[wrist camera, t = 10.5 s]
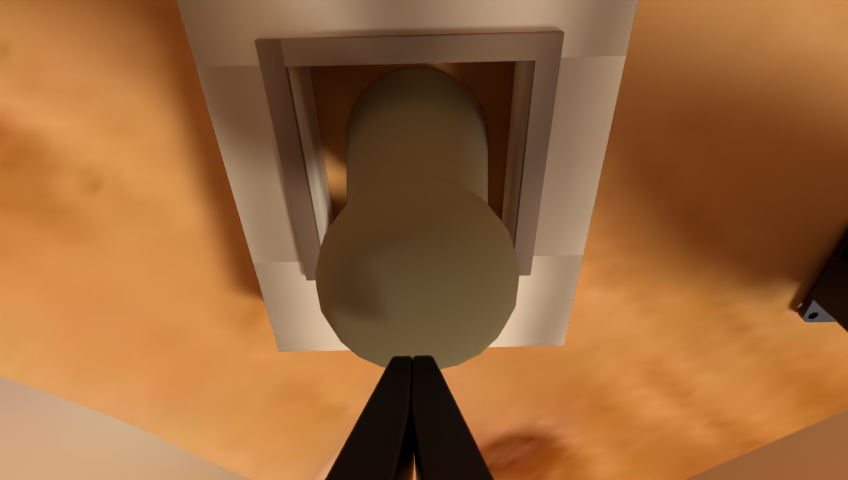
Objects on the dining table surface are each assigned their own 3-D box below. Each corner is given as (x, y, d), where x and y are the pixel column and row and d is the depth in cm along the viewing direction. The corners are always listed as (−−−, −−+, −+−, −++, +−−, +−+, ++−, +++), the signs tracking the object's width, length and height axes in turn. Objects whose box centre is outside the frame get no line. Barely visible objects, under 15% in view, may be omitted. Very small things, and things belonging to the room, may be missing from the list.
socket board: (630, -154, 14) (680, -173, 11) (549, 303, 25) (565, 349, 22) (180, -141, 14) (124, -157, 12) (293, 309, 25) (277, 356, 22)
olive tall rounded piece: (349, 56, 18) (277, 194, 8) (502, 78, 18) (589, 229, 9) (343, 194, 21) (287, 397, 12) (472, 208, 21) (514, 414, 12)
